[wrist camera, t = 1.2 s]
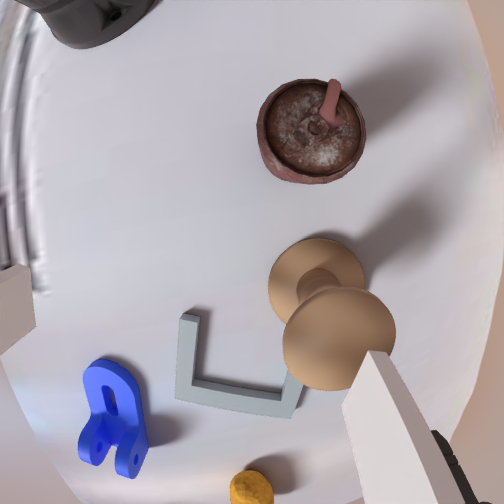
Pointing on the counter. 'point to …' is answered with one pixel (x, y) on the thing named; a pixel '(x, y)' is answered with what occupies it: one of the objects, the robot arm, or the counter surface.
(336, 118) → the can
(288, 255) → the bobbin
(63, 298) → the counter surface
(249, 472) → the potato
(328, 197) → the counter surface
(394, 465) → the robot arm
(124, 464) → the bracket
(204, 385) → the grey u-shaped frame
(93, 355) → the counter surface
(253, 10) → the counter surface
